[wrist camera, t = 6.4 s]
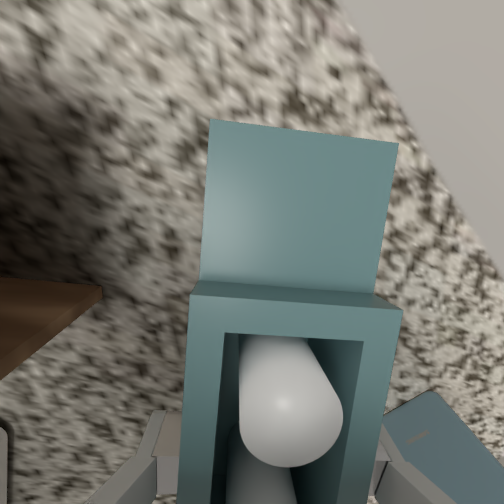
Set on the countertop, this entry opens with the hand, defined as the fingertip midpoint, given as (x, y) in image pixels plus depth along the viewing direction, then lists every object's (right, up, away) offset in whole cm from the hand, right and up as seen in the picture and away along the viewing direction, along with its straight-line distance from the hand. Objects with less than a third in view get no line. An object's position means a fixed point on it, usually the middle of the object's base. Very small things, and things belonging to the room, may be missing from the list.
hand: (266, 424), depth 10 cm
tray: (0, +3, +2) cm, 4 cm away
